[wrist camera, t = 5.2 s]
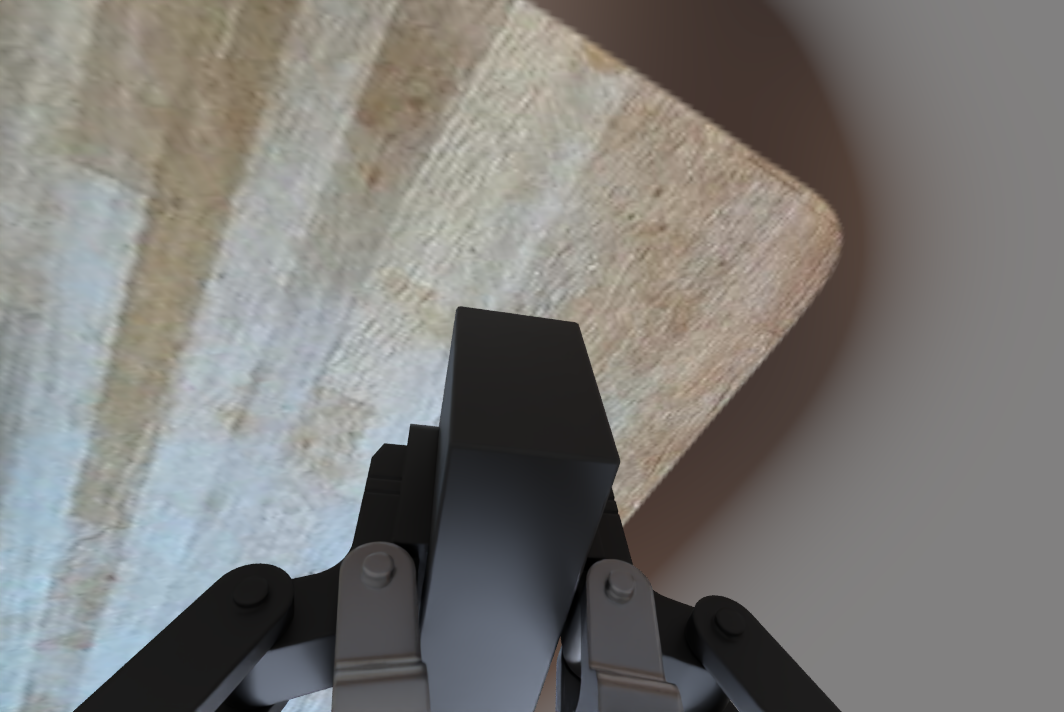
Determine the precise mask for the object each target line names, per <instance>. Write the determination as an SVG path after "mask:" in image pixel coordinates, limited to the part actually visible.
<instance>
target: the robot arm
mask: <svg viewBox="0 0 1064 712" xmlns="http://www.w3.org/2000/svg"><path fill="white" fill-rule="evenodd" d="M438 437H439V427H435V426H426V425H417V424H410V430H409V437H408V443H407V446H406V445H396V444H387V443H384V444H383V446H382V447H381V448H380V449H379V450H378V451H377V452H376V453H375V454H374V456H373V457H372V459H371V463H370V468H369V472H368V478H367V481H366V486H365V492H364V495H363V499H362V504H361V508H360V513H359V517H358V522H357V526H356V531H355V535H354V540H353V544H352V547H351V549H350V551H349V552H348V554H347V555H346V556H345V558H344V559H343V560H341V561H340V562H339V563H338V564H336V565H335V566H334V567H332V568H330V569H328V570H326V571H323V572H321V573H317V574H313V575H308V576H304V577H299V578H294V579H291V578H290V576H289V575H288V574H287V573H286V572H285V571H284V570H282V569H281V568H279V567H276V566H274V565H269V564H261V563H260V564H249V565H245V566H241V567H238V568H236V569H234V570H231V571H230V572H228V573H226V574H225V575H224V576H222V577H221V578H220V579H219V580H217V581H216V582H215V583H214V584H213V585H212V586H211V587H210V588H209V589H208V590H206V591H205V592H204V593H203V594H202V595H201V596H200V597H199V598H198V599H197V600H195V601H194V602H193V603H192V604H191V605H190V606H189V607H188V608H187V609H185V610H184V611H183V612H182V613H181V614H180V615H179V616H178V617H177V618H176V619H174V620H173V621H172V622H171V623H170V624H169V625H168V626H167V627H166V628H165V629H163V630H162V631H161V632H160V633H159V634H158V635H157V636H156V637H155V638H154V639H152V640H151V641H150V642H149V643H148V644H147V645H146V646H145V647H144V648H143V649H141V650H140V651H139V652H138V653H137V654H136V655H135V656H134V657H133V658H131V659H130V660H129V661H128V662H127V663H126V664H125V665H124V666H123V667H122V668H120V669H119V670H118V671H117V672H116V673H115V674H114V675H113V676H112V677H111V678H109V679H108V680H107V681H106V682H105V683H104V684H103V685H102V686H101V687H100V688H98V689H97V690H96V691H95V692H94V693H93V694H92V695H91V696H90V697H88V698H87V699H86V700H85V701H84V702H83V703H82V704H81V705H80V706H79V707H77V708H76V709H75V710H74V711H73V712H281V711H282V709H283V708H284V707H285V705H286V704H287V702H288V701H289V699H293V698H296V697H300V696H303V695H307V694H310V693H314V692H317V691H320V690H324V689H327V688H331V687H333V693H332V710H331V712H431V706H430V693H429V680H428V671H427V666H426V663H425V662H423V661H422V656H421V644H420V629H419V607H420V601H421V595H422V588H423V582H424V575H425V569H426V563H427V556H428V550H429V543H430V531H431V519H432V508H433V496H434V484H435V472H436V460H437V449H438ZM614 498H615V497H614V494H613V490H612V488H611V491H610V494H609V497H608V499H607V502H606V505H605V508H604V511H603V514H602V517H601V520H600V523H599V526H598V528H597V531H596V534H595V537H594V540H593V543H592V546H591V549H590V552H589V554H588V557H587V560H586V563H585V566H584V569H583V572H582V575H581V578H580V581H579V583H578V586H577V589H576V592H575V595H574V598H573V601H572V604H571V607H570V609H569V612H568V615H567V618H566V621H565V624H564V627H563V630H562V633H561V643H562V646H561V649H560V652H559V655H558V658H557V672H556V712H739V711H740V712H841V711H840V710H839V709H838V708H837V706H836V705H835V704H834V703H833V702H832V701H831V700H830V699H829V698H828V697H827V696H826V694H825V693H824V692H823V691H822V690H821V689H820V688H819V687H818V686H817V685H816V684H815V683H814V681H813V680H812V679H811V678H810V677H809V676H808V675H807V674H806V673H805V672H804V670H802V668H801V667H800V666H799V665H798V664H797V663H796V662H795V661H794V660H793V659H792V657H791V656H790V655H789V654H788V653H787V652H786V651H785V650H784V649H783V648H782V647H781V645H779V643H778V642H777V641H776V640H775V639H774V638H773V637H772V636H771V635H770V634H769V633H768V631H767V630H766V629H765V628H764V627H763V626H762V625H761V624H760V623H759V622H758V620H757V619H756V618H755V617H754V616H753V615H752V614H751V613H750V612H749V611H748V610H747V609H745V608H744V607H743V606H742V605H740V604H739V603H737V602H735V601H733V600H731V599H729V598H726V597H723V596H715V595H712V596H706V597H703V598H702V599H700V600H699V601H698V602H697V603H696V605H695V607H692V606H689V605H686V604H683V603H681V602H678V601H675V600H672V599H670V598H667V597H664V596H662V595H660V594H658V593H657V592H655V591H654V590H653V589H652V586H651V584H650V582H649V580H648V579H647V577H646V576H645V575H644V574H643V573H642V572H641V571H640V570H639V569H637V568H636V567H634V566H633V563H632V560H631V556H630V553H629V549H628V545H627V541H626V538H625V534H624V531H623V527H622V523H621V519H620V516H619V515H618V508H617V505H616V501H614ZM730 700H731V701H732V702H733V703H732V702H731V701H730ZM733 704H734V705H735V706H736V707H737V708H736V707H735V706H734V705H733ZM737 709H738V710H739V711H738V710H737Z"/></svg>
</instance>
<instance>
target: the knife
mask: <svg viewBox="0 0 1064 712" xmlns="http://www.w3.org/2000/svg"><path fill="white" fill-rule="evenodd" d="M619 465H620V458H619V455H618V452H617V448H616V445H615V442H614V439H613V435H612V432H611V429H610V425H609V422H608V419H607V416H606V412H605V409H604V406H603V403H602V399H601V396H600V393H599V390H598V386H597V383H596V380H595V376H594V373H593V370H592V367H591V363H590V360H589V357H588V354H587V350H586V347H585V344H584V341H583V337H582V334H581V331H580V328H579V324H578V323H576V322H569V321H562V320H555V319H548V318H541V317H533V316H526V315H519V314H512V313H505V312H498V311H490V310H483V309H476V308H469V307H462V306H460V307H458V308H457V309H456V314H455V321H454V328H453V335H452V341H451V348H450V355H449V362H448V368H447V375H446V382H445V389H444V395H443V402H442V409H441V416H440V422H439V437H438V449H437V460H436V472H435V484H434V496H433V508H432V519H431V531H430V543H429V550H428V556H427V563H426V569H425V575H424V582H423V588H422V595H421V601H420V607H419V629H420V644H421V656H422V661H423V662H425V663H426V666H427V671H428V680H429V693H430V706H431V712H534V711H535V708H536V705H537V702H538V699H539V696H540V693H541V690H542V688H543V685H544V682H545V679H546V676H547V673H548V670H549V667H550V664H551V662H552V659H553V656H554V653H555V650H556V647H557V644H558V641H559V638H560V636H561V633H562V630H563V627H564V624H565V621H566V618H567V615H568V612H569V609H570V607H571V604H572V601H573V598H574V595H575V592H576V589H577V586H578V583H579V581H580V578H581V575H582V572H583V569H584V566H585V563H586V560H587V557H588V554H589V552H590V549H591V546H592V543H593V540H594V537H595V534H596V531H597V528H598V526H599V523H600V520H601V517H602V514H603V511H604V508H605V505H606V502H607V499H608V497H609V494H610V491H611V488H612V485H613V482H614V479H615V476H616V473H617V471H618V468H619Z"/></svg>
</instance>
